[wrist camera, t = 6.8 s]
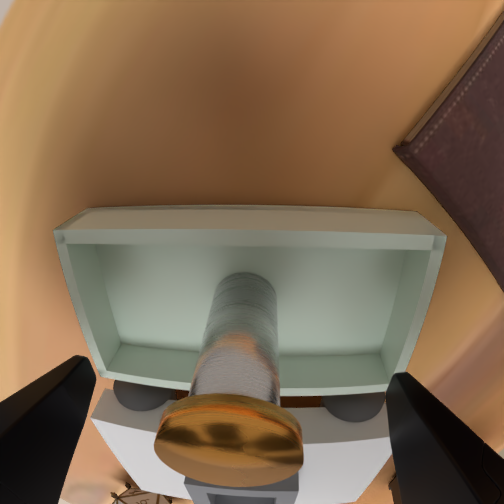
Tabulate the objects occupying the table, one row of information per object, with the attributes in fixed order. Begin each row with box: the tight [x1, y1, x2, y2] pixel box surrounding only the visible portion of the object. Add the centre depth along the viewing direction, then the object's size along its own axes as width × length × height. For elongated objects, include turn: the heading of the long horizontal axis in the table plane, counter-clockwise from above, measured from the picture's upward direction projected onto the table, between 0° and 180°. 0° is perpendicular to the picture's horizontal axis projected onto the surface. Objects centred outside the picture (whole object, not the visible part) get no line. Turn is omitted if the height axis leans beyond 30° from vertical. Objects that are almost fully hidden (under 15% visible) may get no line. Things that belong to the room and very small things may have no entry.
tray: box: [53, 205, 447, 396], centre depth 11 cm, size 13×7×2 cm, turn 91°
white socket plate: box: [90, 380, 392, 504], centre depth 14 cm, size 14×10×6 cm
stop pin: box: [154, 272, 304, 487], centre depth 9 cm, size 3×3×7 cm
